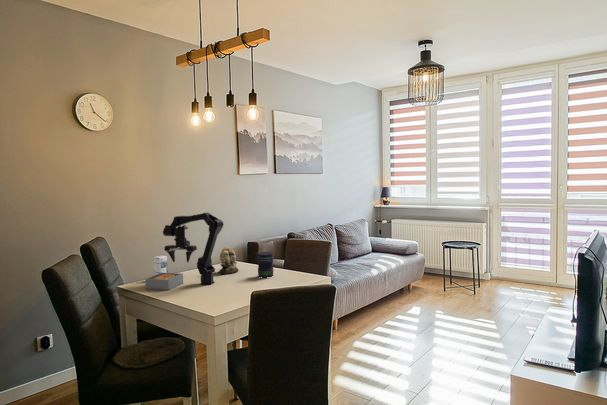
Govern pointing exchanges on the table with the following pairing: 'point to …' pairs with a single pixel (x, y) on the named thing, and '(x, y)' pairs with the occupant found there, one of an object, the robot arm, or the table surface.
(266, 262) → the storage jar
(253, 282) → the table surface
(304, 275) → the table surface
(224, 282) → the table surface
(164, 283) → the grey crate
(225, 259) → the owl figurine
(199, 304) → the table surface
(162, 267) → the syrup box
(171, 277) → the orange crate
